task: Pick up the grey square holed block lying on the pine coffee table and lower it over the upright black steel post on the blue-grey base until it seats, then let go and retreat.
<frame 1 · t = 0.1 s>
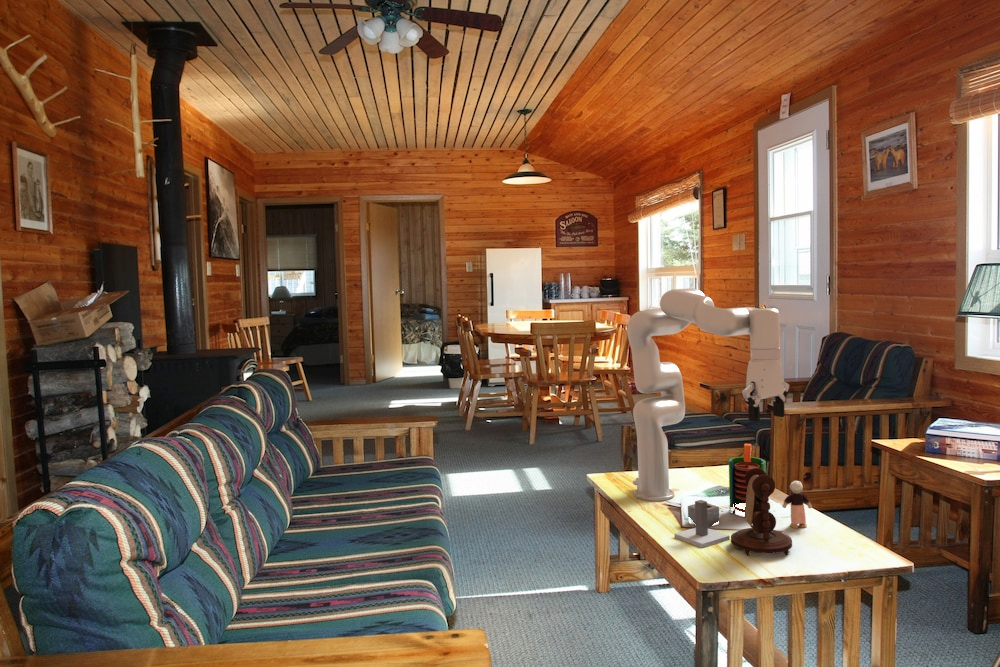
hand: (766, 418, 199), 31 cm above the table, fingers open, 9 cm apart
grandmother figurine: (796, 527, 206), on the table
shaft block: (701, 538, 200), on the table
motor: (747, 513, 219), on the table
grey square holed block: (703, 523, 211), on the table
scroll: (761, 549, 190), on the table
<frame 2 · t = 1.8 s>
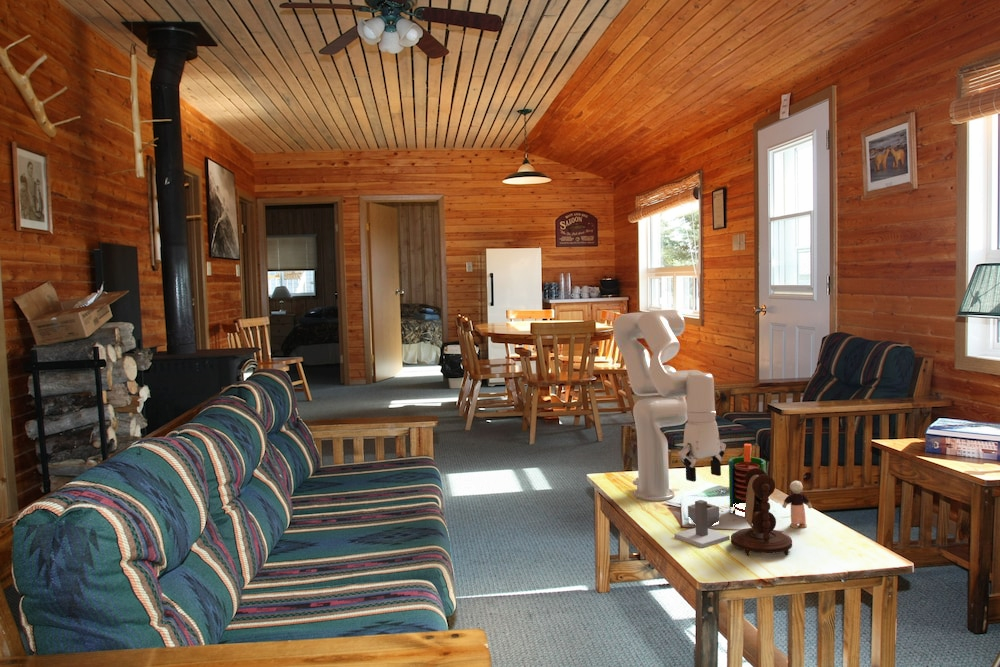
hand: (703, 477, 209), 13 cm above the table, fingers open, 9 cm apart
nothing on the table moved.
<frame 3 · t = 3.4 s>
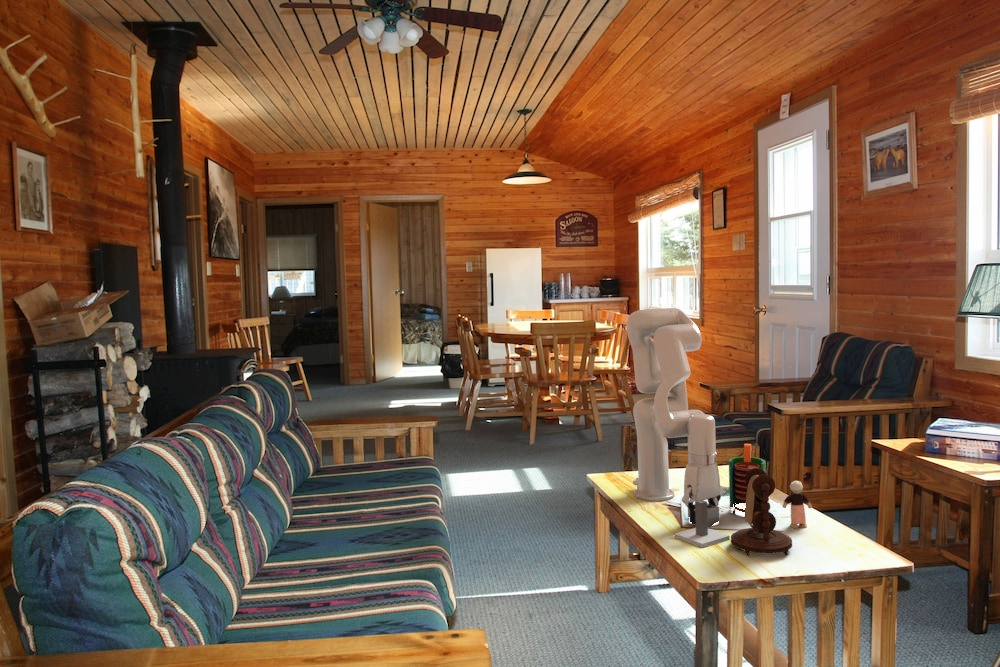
hand: (703, 521, 211), 1 cm above the table, fingers closed on grey square holed block, 6 cm apart
grey square holed block: (703, 523, 211), on the table, touching gripper
everything else where it was.
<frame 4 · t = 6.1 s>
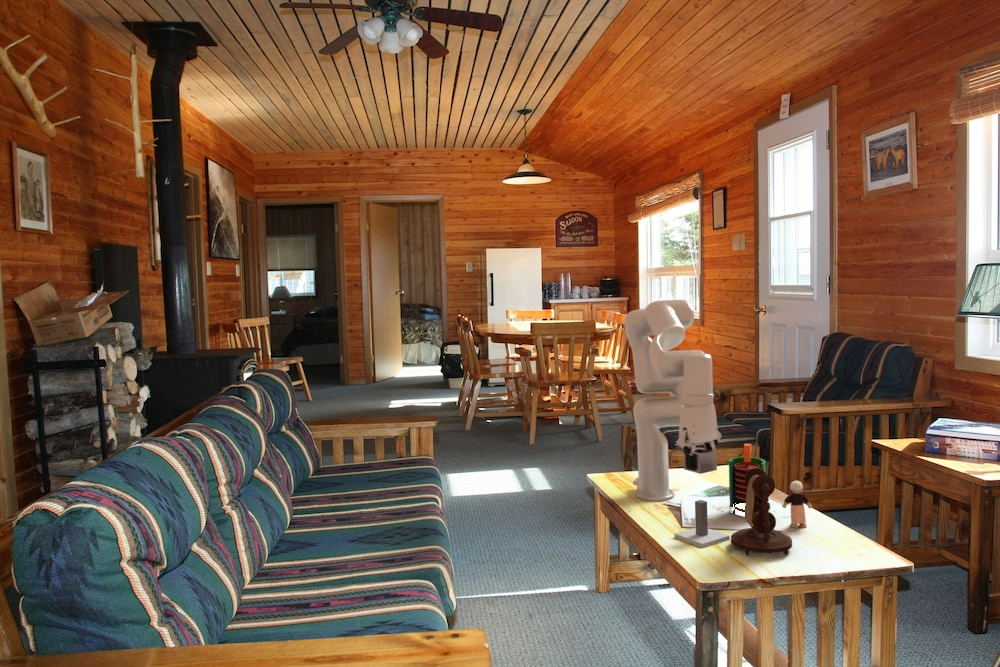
hand: (699, 466, 198), 19 cm above the table, fingers closed on grey square holed block, 6 cm apart
grey square holed block: (700, 469, 198), point 19 cm above the table, touching gripper
everything else where it was.
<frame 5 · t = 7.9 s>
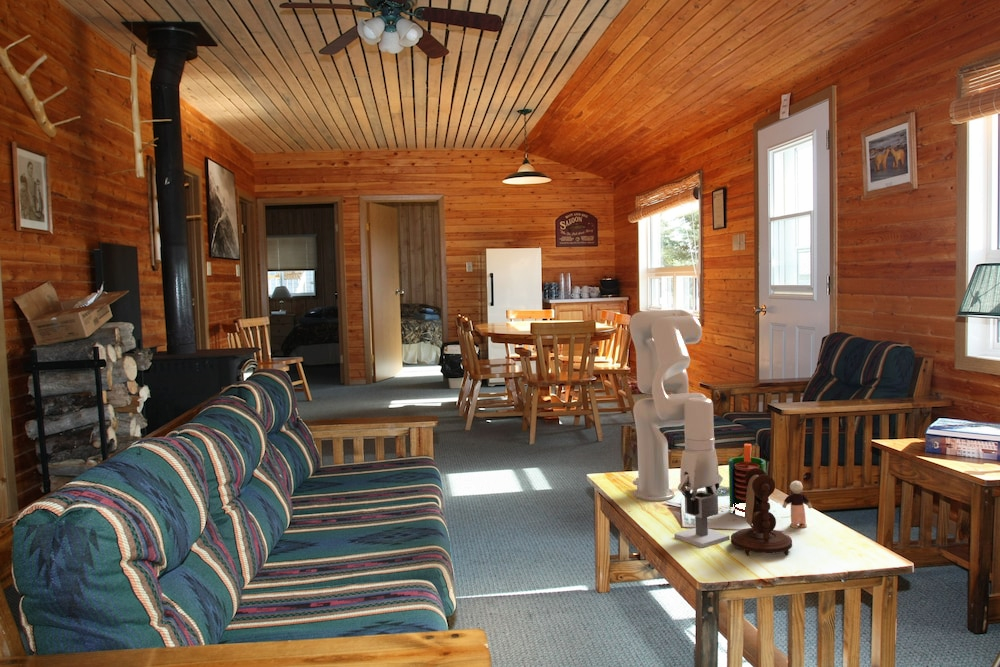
hand: (701, 510, 199), 8 cm above the table, fingers closed on grey square holed block, 6 cm apart
grey square holed block: (701, 513, 199), point 7 cm above the table, touching gripper
everything else where it was.
when the fingers open (3 cm above the table, at t = 9.2 s): grey square holed block drops 2 cm, resting on shaft block.
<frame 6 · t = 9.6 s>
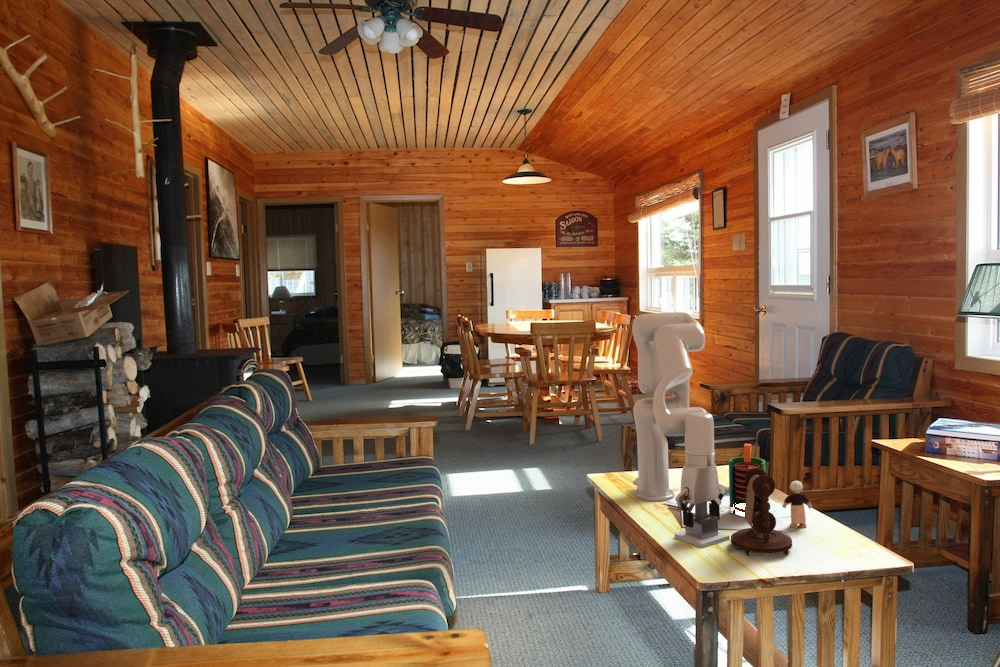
hand: (701, 522, 199), 4 cm above the table, fingers open, 9 cm apart
grey square holed block: (701, 534, 200), point 1 cm above the table, touching shaft block
everything else where it was.
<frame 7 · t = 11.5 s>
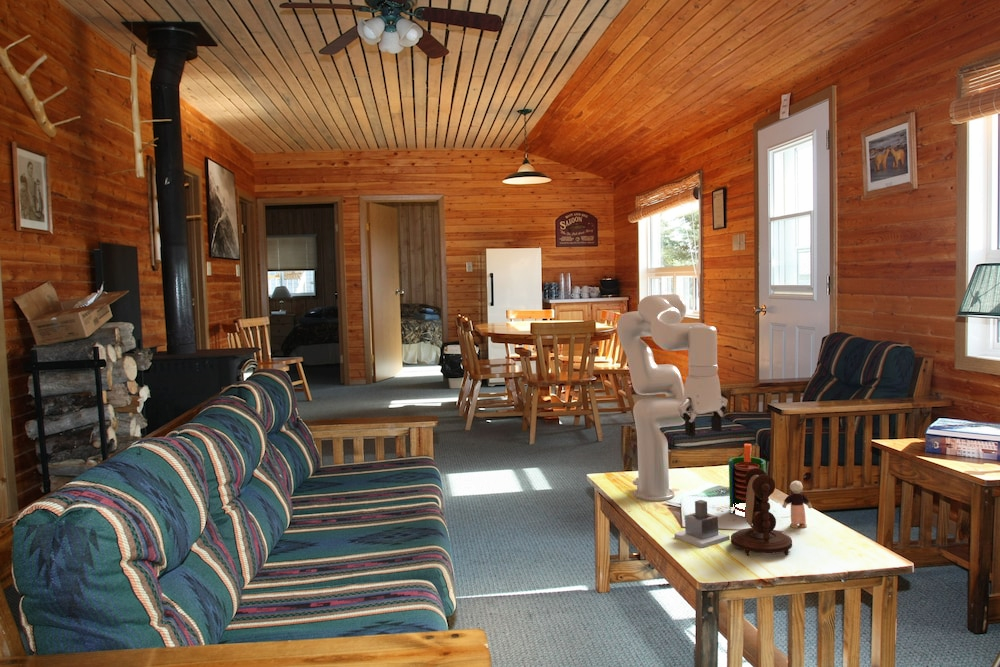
hand: (703, 433, 204), 27 cm above the table, fingers open, 9 cm apart
nothing on the table moved.
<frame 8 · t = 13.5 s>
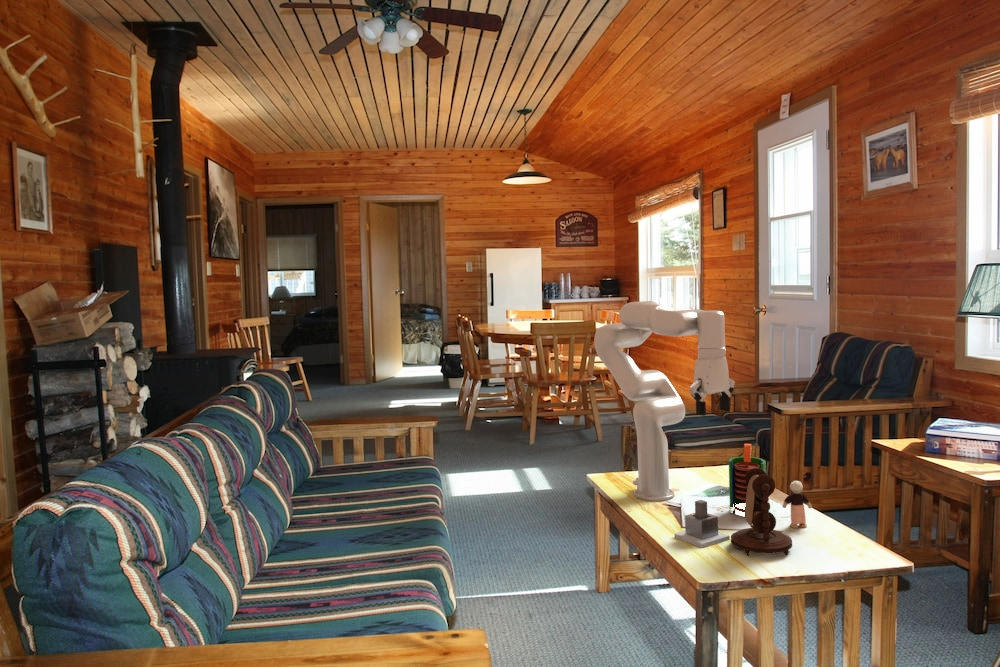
hand: (713, 412, 216), 30 cm above the table, fingers open, 9 cm apart
nothing on the table moved.
at the end: grey square holed block 0.1 cm off-centre on the shaft block, point 1.0 cm above the shaft block's base; the gripper is holding nothing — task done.
